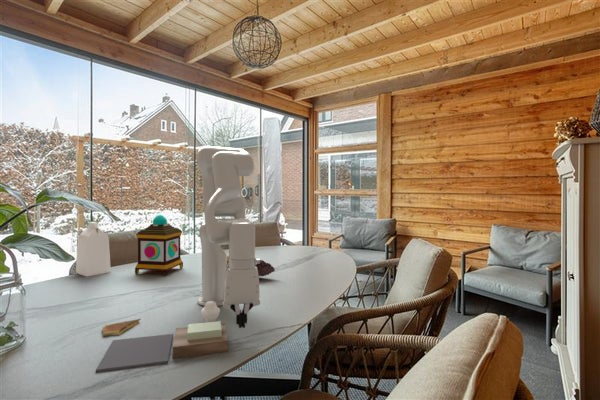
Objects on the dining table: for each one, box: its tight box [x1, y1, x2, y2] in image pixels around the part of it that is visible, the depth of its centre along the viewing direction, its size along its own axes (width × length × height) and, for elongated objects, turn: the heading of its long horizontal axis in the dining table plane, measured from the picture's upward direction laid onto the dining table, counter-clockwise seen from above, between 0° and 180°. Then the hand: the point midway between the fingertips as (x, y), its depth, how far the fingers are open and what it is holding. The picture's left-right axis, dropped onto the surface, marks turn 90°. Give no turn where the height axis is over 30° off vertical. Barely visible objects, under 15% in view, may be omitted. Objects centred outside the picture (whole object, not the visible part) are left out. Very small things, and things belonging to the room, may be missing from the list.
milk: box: [75, 221, 112, 277], centre depth 170 cm, size 12×12×26 cm
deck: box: [172, 323, 229, 359], centre depth 93 cm, size 12×14×3 cm
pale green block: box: [187, 320, 222, 340], centre depth 93 cm, size 9×6×2 cm, turn 107°
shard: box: [102, 318, 141, 337], centre depth 102 cm, size 11×8×2 cm
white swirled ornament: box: [200, 301, 221, 323], centre depth 109 cm, size 6×6×7 cm
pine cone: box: [255, 259, 276, 277], centre depth 162 cm, size 18×10×10 cm, turn 88°
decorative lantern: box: [134, 214, 184, 277], centre depth 174 cm, size 20×20×30 cm
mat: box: [95, 333, 174, 373], centre depth 88 cm, size 16×16×1 cm
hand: (241, 326), depth 96 cm, fingers closed
